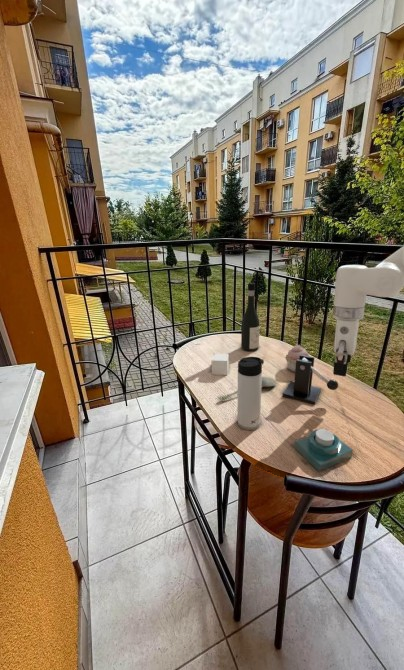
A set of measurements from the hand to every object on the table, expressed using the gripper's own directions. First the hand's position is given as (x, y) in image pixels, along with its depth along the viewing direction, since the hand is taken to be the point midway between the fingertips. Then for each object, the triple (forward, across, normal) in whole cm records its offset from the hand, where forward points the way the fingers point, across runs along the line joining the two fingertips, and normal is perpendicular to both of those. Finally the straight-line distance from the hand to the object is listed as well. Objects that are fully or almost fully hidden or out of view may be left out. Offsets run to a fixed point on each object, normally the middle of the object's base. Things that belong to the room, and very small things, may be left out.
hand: (341, 368), depth 82 cm
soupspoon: (+12, -7, +27) cm, 30 cm away
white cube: (+11, +2, +42) cm, 44 cm away
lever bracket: (+12, 0, +11) cm, 16 cm away
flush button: (+9, -24, 0) cm, 25 cm away
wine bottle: (+11, +28, +41) cm, 51 cm away
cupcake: (+12, +17, +17) cm, 27 cm away
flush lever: (+5, 0, +7) cm, 9 cm away
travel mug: (+12, -22, +20) cm, 32 cm away
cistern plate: (+12, -24, 0) cm, 27 cm away
